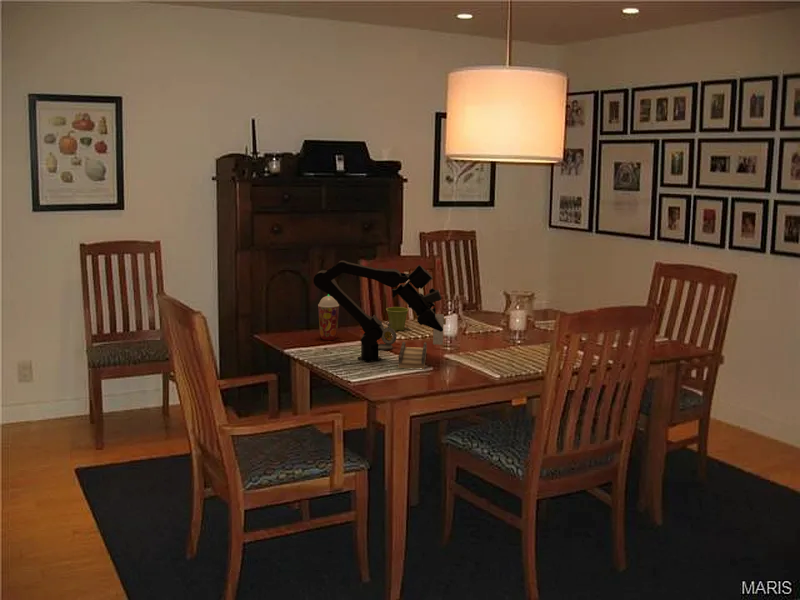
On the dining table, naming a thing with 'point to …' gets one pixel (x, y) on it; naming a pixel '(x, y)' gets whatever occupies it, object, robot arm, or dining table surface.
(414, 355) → the tan piece
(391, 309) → the plant pot
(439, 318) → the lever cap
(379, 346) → the pocket watch
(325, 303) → the smoothie
